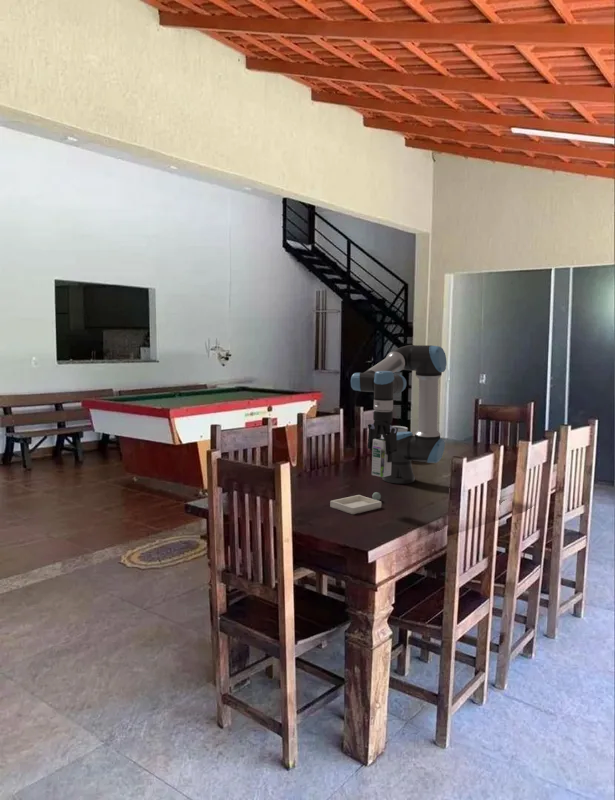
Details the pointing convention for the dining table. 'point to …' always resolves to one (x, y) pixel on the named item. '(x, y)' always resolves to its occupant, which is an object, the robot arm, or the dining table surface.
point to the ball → (376, 496)
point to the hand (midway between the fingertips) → (381, 468)
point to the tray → (355, 504)
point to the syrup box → (379, 458)
